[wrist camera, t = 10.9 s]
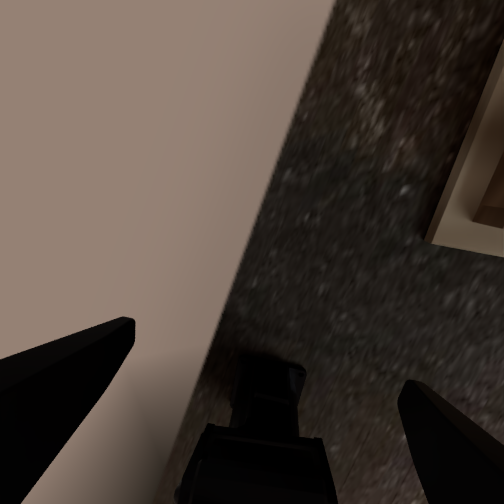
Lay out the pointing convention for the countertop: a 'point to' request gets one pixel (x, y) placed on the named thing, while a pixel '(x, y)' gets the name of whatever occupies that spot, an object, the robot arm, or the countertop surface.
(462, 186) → the socket board
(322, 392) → the countertop surface
